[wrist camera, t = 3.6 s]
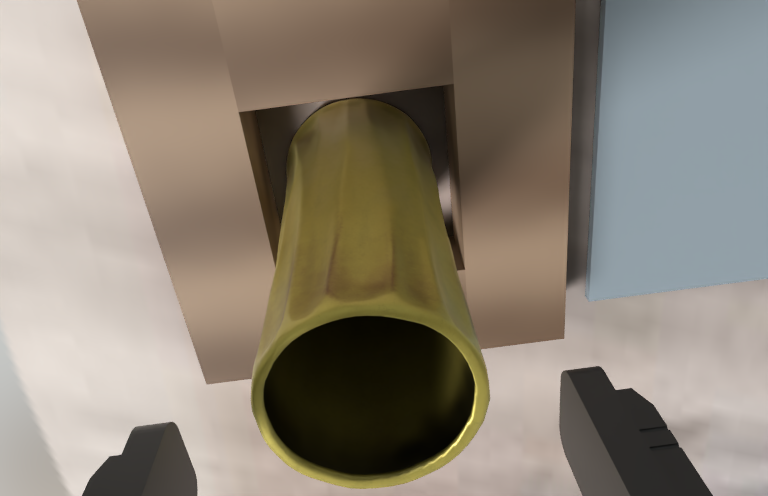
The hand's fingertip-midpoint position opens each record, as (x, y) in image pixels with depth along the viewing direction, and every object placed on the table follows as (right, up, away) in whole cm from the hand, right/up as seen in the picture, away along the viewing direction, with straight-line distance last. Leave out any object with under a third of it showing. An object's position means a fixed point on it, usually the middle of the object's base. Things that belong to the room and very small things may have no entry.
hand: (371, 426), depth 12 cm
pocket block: (-1, +7, +13) cm, 15 cm away
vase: (-1, +7, +13) cm, 15 cm away
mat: (+16, +9, +13) cm, 22 cm away
